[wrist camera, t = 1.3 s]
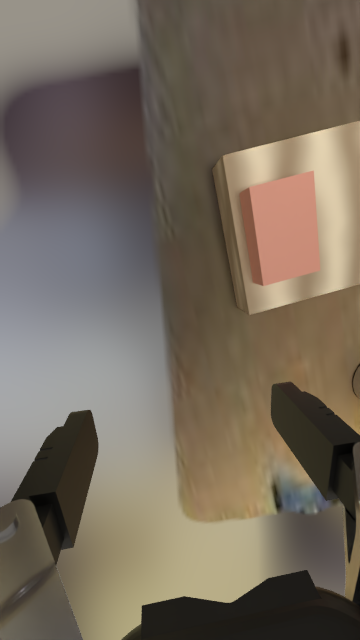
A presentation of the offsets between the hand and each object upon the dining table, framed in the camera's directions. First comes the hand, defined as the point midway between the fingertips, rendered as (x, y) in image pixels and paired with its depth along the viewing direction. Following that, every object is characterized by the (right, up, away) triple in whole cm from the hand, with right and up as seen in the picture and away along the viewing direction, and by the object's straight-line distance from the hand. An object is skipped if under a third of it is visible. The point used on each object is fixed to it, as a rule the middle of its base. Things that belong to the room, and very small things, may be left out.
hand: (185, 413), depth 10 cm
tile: (+10, +13, +13) cm, 21 cm away
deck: (+12, +15, +18) cm, 26 cm away
